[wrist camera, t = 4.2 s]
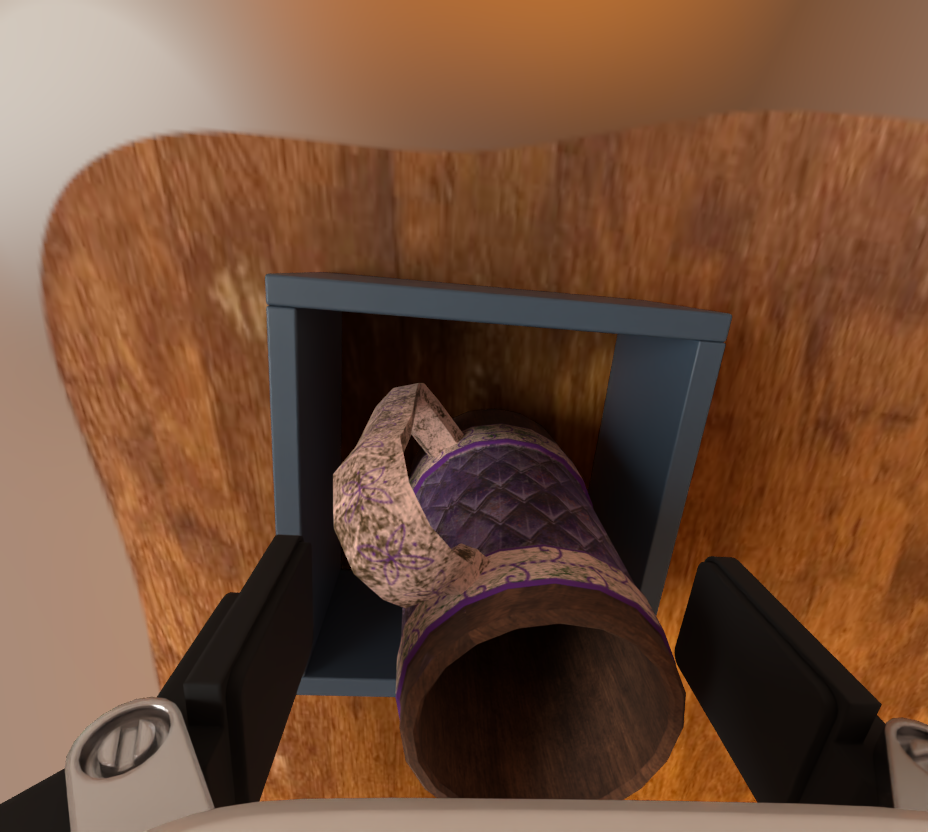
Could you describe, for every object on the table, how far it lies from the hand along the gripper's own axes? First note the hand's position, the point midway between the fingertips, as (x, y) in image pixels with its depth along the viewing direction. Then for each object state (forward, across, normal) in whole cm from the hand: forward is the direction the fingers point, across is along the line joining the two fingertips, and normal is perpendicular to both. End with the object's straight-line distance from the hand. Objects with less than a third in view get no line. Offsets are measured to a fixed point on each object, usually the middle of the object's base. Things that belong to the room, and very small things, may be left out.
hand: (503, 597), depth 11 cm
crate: (+10, 0, 0) cm, 10 cm away
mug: (+10, 0, 0) cm, 10 cm away
